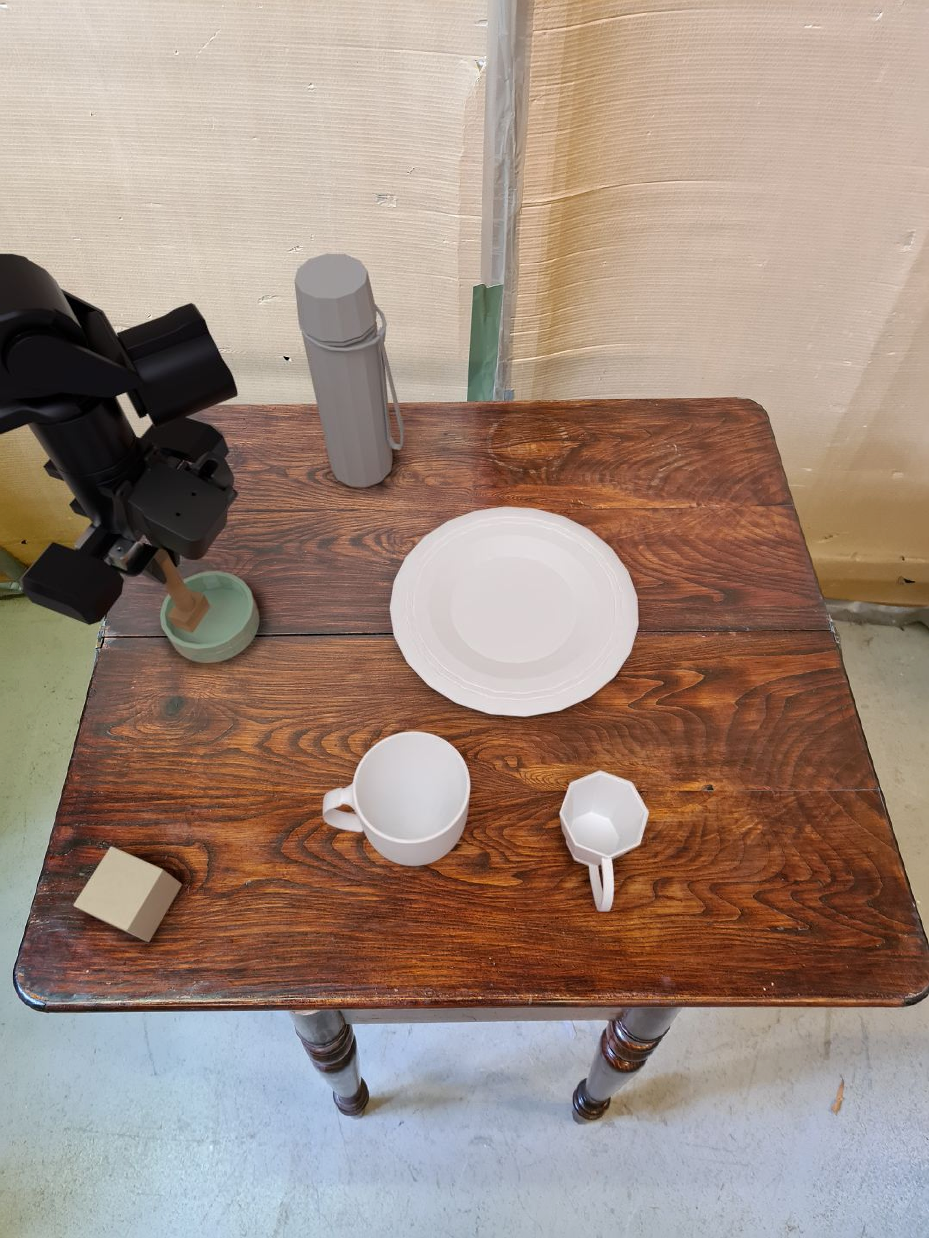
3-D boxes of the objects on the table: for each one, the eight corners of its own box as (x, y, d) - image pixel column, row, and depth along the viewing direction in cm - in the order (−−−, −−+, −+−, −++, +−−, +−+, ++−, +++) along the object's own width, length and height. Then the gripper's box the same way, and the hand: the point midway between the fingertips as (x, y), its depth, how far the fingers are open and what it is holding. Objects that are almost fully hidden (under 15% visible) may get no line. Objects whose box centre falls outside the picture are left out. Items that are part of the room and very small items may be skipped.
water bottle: (319, 485, 90) (274, 293, 69) (346, 437, 94) (310, 242, 73) (395, 504, 89) (372, 314, 68) (419, 454, 93) (404, 260, 71)
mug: (467, 780, 72) (466, 726, 62) (473, 880, 67) (474, 839, 57) (337, 788, 72) (315, 735, 61) (335, 889, 67) (310, 849, 57)
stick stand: (97, 918, 66) (72, 905, 61) (133, 861, 68) (110, 845, 64) (149, 942, 65) (126, 930, 60) (182, 884, 67) (163, 869, 63)
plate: (578, 767, 72) (581, 759, 71) (344, 658, 78) (342, 649, 77) (670, 568, 84) (674, 557, 82) (460, 486, 90) (460, 475, 89)
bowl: (152, 646, 79) (141, 630, 77) (201, 576, 84) (192, 559, 81) (230, 675, 78) (222, 661, 75) (275, 603, 82) (269, 586, 79)
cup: (626, 802, 71) (643, 769, 64) (640, 920, 65) (660, 898, 59) (547, 803, 71) (556, 770, 64) (555, 920, 65) (565, 898, 59)
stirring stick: (174, 626, 73) (136, 567, 65) (193, 599, 75) (158, 538, 67) (192, 633, 73) (157, 574, 65) (211, 606, 74) (178, 545, 66)
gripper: (108, 584, 48) (187, 696, 62) (262, 386, 57) (302, 521, 71) (-37, 530, 51) (70, 649, 64) (133, 347, 60) (196, 485, 73)
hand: (167, 573), depth 68 cm, fingers closed on stirring stick, 2 cm apart
